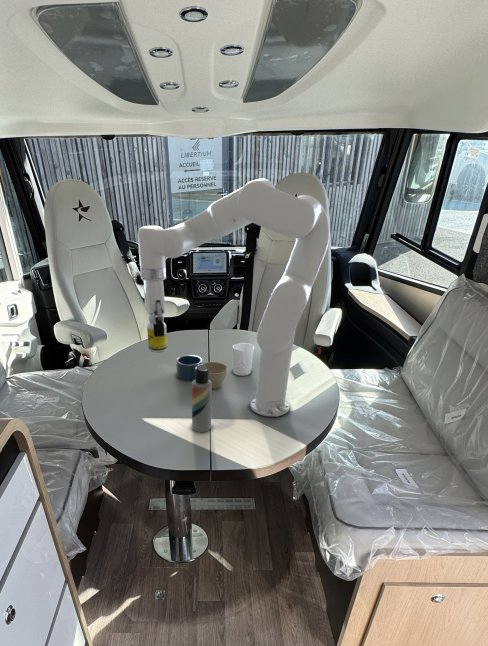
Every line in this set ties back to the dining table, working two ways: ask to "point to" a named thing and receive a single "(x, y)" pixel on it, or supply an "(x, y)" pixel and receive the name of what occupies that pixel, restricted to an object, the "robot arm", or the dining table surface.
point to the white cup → (242, 358)
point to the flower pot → (216, 373)
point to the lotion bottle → (201, 399)
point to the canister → (187, 366)
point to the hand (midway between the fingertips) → (157, 331)
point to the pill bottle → (156, 338)
